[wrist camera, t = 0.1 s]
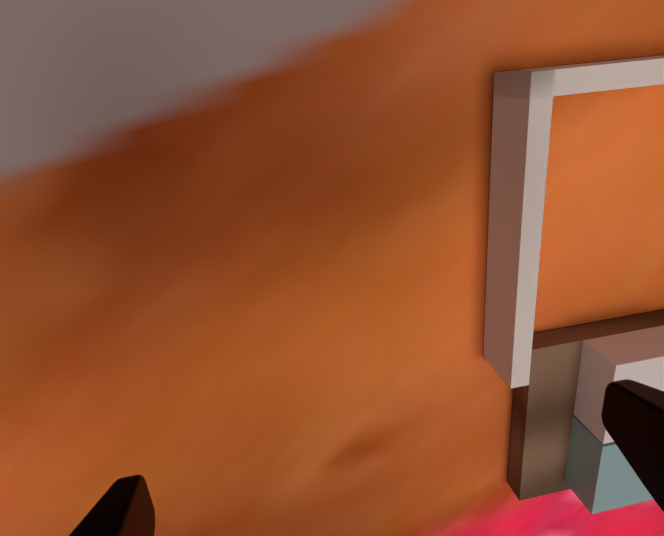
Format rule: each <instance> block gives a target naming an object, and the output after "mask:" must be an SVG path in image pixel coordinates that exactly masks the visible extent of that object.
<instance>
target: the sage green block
mask: <svg viewBox="0 0 664 536" xmlns="http://www.w3.org/2000/svg"><path fill="white" fill-rule="evenodd" d="M565 482H566V483H567V484H568V485H569V487H570V488H571V489H572V490H573V492H574V493H575V494H576V495H577V497H578V498H579V499H580V500H581V502H582V503H583V504H584V505H585V507H586V508H587V509H588V510H589V512H590V513H591V514H595V513H599V512H603V511H607V510H611V509H616V508H620V507H624V506H628V505H632V504H637V503H641V502H645V501H649V500H654V499H653V497H652V496H651V495H650V493H649V492H648V491H647V489H646V488H645V486H644V485H643V483H642V482H641V481H640V479H639V478H638V476H637V475H636V473H635V472H634V470H633V469H632V467H631V466H630V464H629V463H628V461H627V460H626V458H625V457H624V455H623V454H622V453H621V451H620V450H619V448H618V447H617V445H616V444H615V442H611V443H606V444H603V443H602V442H601V441H600V440H599V439H598V438H597V437H596V436H595V435H594V434H593V433H592V432H591V431H590V430H589V429H588V428H587V427H586V426H585V425H584V424H583V423H582V422H581V421H580V420H579V419H578V418H577V417H576V416H575V417H573V422H572V429H571V437H570V445H569V452H568V460H567V468H566V476H565Z"/></svg>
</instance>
